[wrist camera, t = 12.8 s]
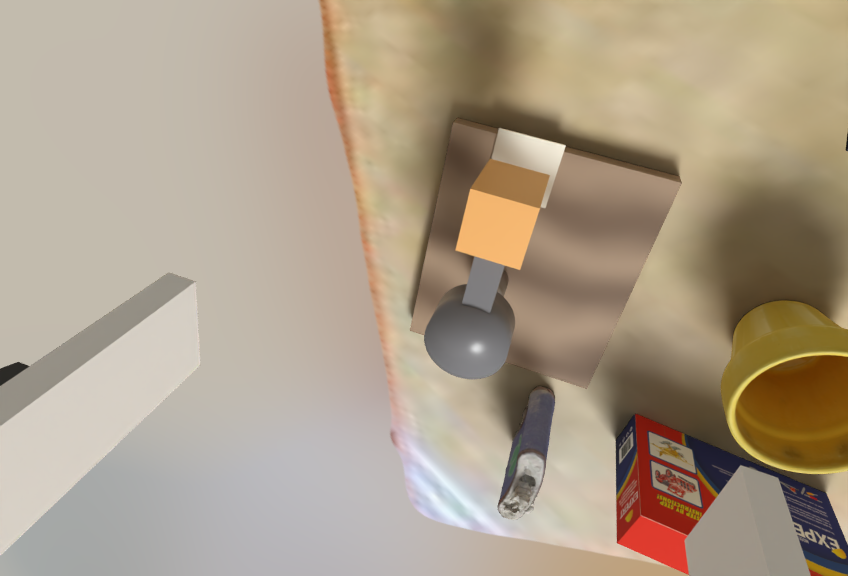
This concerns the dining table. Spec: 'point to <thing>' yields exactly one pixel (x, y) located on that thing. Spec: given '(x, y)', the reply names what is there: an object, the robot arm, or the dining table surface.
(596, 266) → the post base
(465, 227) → the grey joystick lever
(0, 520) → the robot arm
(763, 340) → the plant pot
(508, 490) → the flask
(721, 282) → the dining table surface
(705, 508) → the toy box
